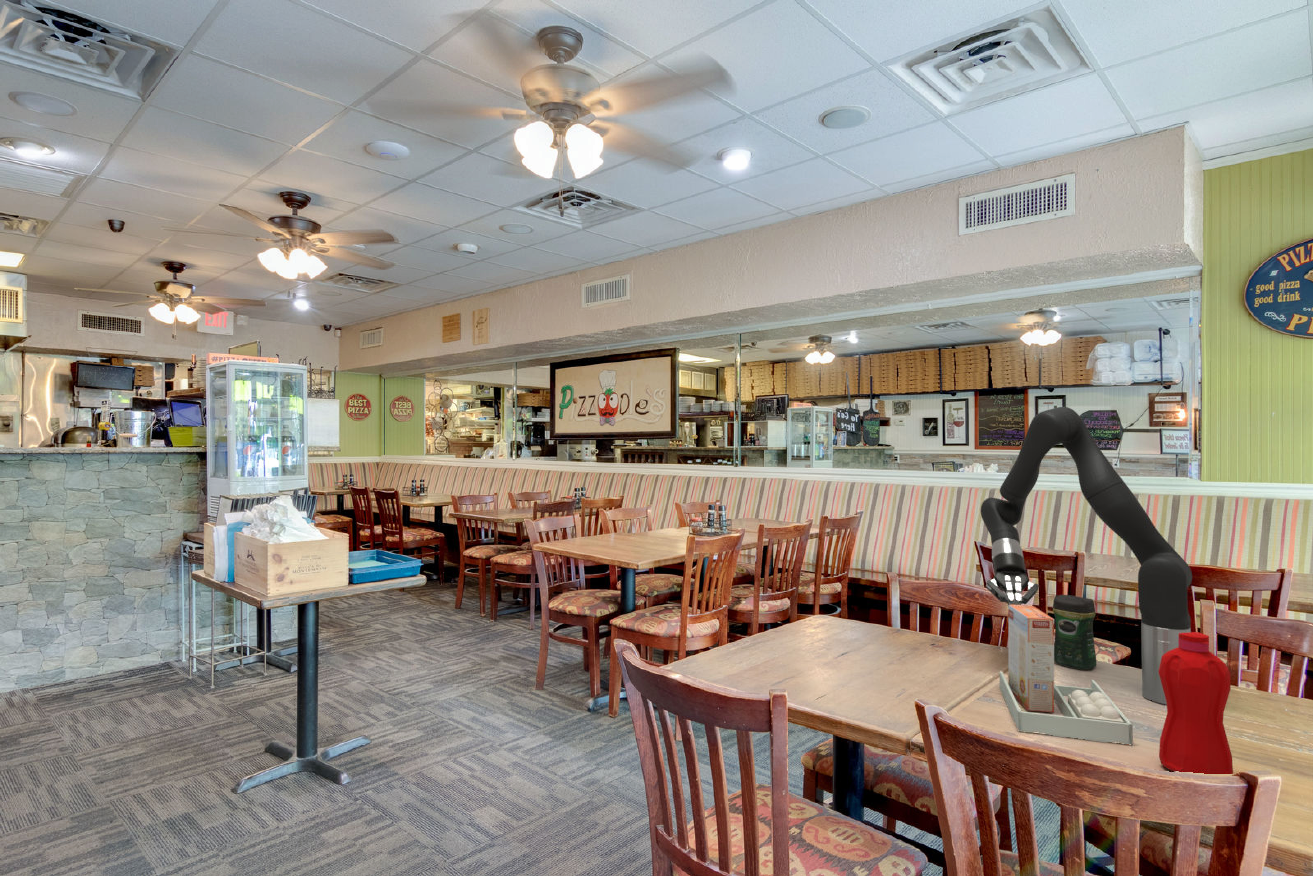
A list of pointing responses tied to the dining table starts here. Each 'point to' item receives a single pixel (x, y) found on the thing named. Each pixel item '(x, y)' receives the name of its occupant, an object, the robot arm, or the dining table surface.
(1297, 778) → the dining table surface
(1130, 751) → the dining table surface
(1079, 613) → the coffee jar
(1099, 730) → the grey shallow rectangular frame
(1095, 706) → the egg carton
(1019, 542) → the robot arm
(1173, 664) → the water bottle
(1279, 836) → the dining table surface
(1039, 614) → the cracker box
